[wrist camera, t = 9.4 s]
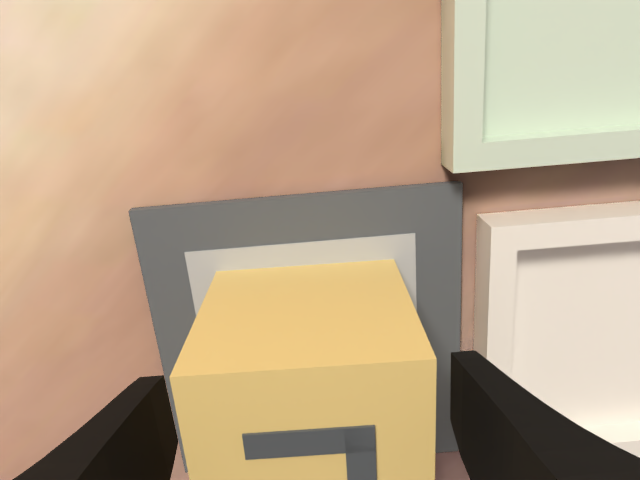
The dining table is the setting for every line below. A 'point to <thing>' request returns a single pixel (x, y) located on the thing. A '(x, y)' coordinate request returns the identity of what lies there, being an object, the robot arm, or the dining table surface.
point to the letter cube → (307, 377)
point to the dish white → (565, 310)
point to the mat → (309, 258)
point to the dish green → (539, 82)
